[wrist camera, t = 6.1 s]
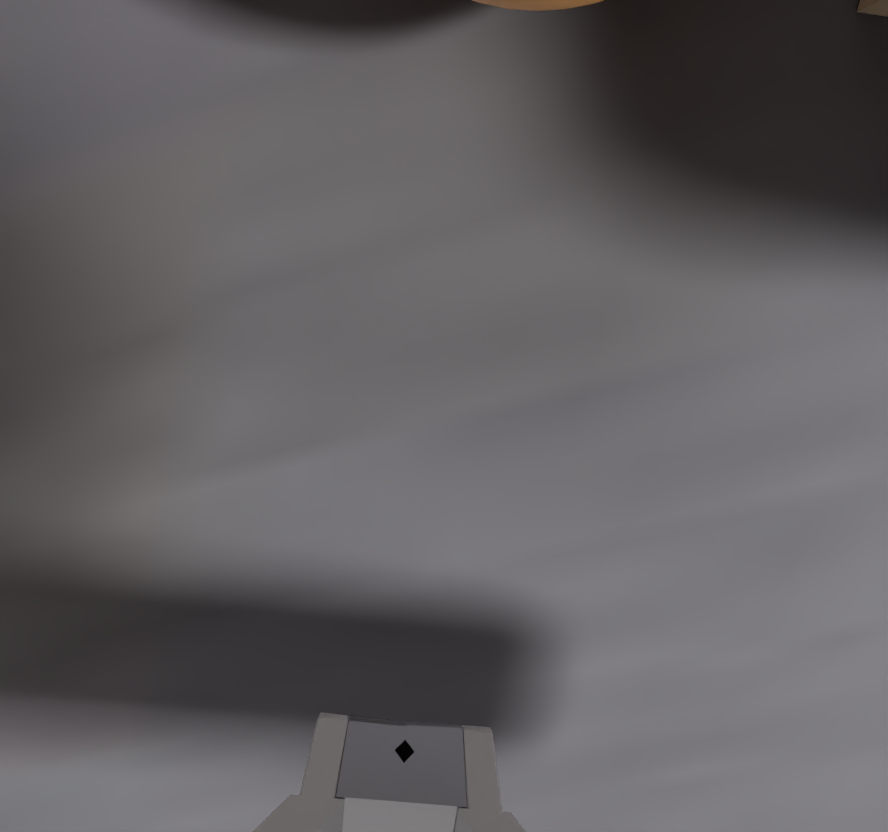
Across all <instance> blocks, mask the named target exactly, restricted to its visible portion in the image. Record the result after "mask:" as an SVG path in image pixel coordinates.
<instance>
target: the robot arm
mask: <svg viewBox="0 0 888 832" xmlns="http://www.w3.org/2000/svg"><path fill="white" fill-rule="evenodd" d="M253 832H526V831H525V830H524V829H523V827H522V826H521V825H520V824H519V822H518V821H517V820H516V818H515V817H514V816H513V815H512V813H510V812H502V806H501V797H500V789H499V781H498V772H497V764H496V756H495V748H494V739H493V732H492V730H491V728H490V727H482V726H468V725H462V726H461V725H453V724H440V723H426V722H413V721H399V720H390V719H381V718H372V717H363V716H355V715H350V717H349V716H348V715H339V714H331V713H323V712H320V714H319V717H318V719H317V722H316V726H315V731H314V735H313V739H312V744H311V748H310V752H309V756H308V761H307V765H306V769H305V774H304V778H303V782H302V786H301V791H300V795H290V796H289V797H288V798H287V799H286V800H285V801H284V802H283V803H282V804H281V805H280V806H279V807H278V808H277V809H276V810H274V811H273V812H272V813H271V814H270V815H269V816H268V817H267V818H266V819H265V820H264V821H263V822H262V823H261V824H260V825H259V826H258V827H257V828H256V829H255V830H254V831H253Z"/></svg>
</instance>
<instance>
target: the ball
mask: <svg viewBox="0 0 888 832" xmlns="http://www.w3.org/2000/svg"><path fill="white" fill-rule="evenodd" d="M472 1H475V2H478V3H482V4H487V5H491V6H496V7H500V8H505V9H515V10H528V11H544V10H561V9H569V8H574V7H579V6H584V5H589V4H594V3H598V2H601V1H604V0H472Z"/></svg>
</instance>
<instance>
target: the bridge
mask: <svg viewBox="0 0 888 832" xmlns="http://www.w3.org/2000/svg"><path fill="white" fill-rule="evenodd" d="M857 12H860V13H867V14H873V15H880V16H886V17H888V0H860V2H859V6H858V9H857Z"/></svg>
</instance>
